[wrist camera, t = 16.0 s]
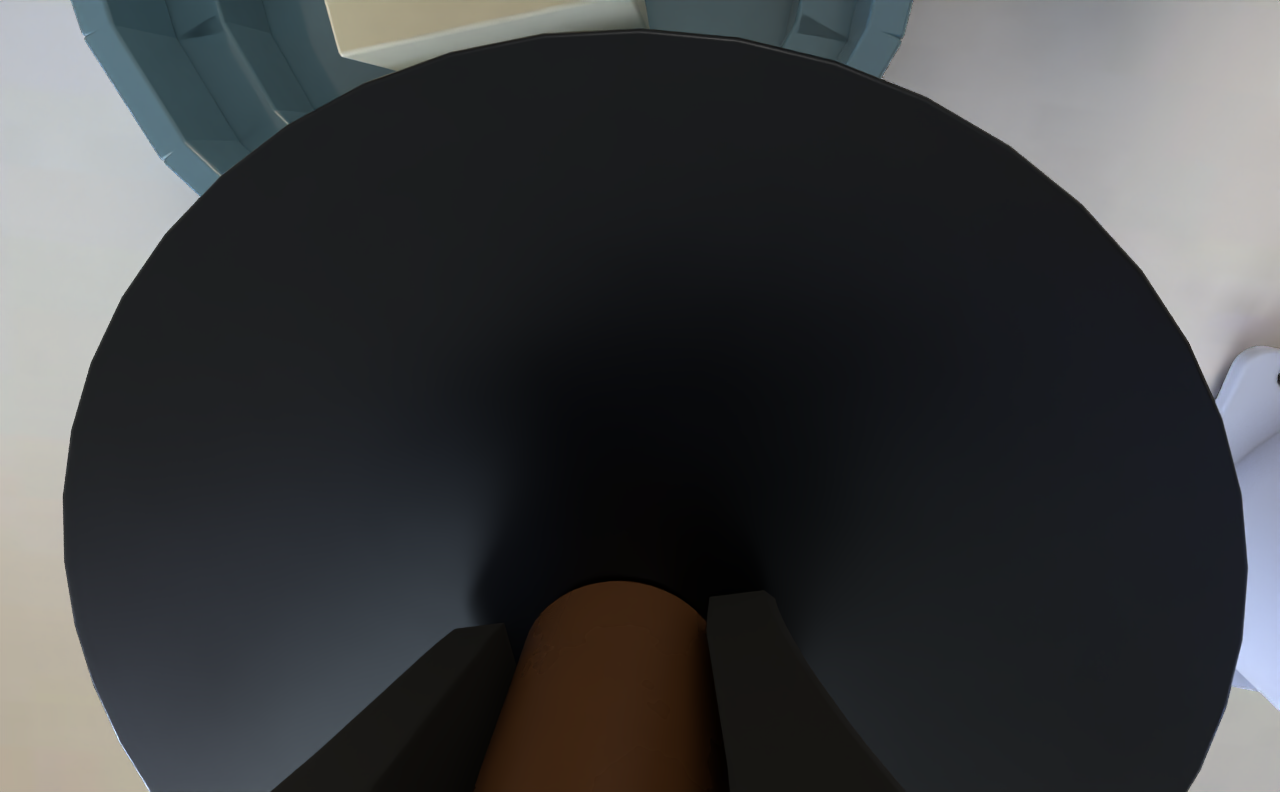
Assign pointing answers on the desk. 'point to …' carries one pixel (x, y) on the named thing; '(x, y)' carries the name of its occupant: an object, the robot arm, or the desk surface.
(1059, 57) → the desk surface
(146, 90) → the dish
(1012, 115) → the desk surface
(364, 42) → the tofu
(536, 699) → the pan lid
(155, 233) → the desk surface
